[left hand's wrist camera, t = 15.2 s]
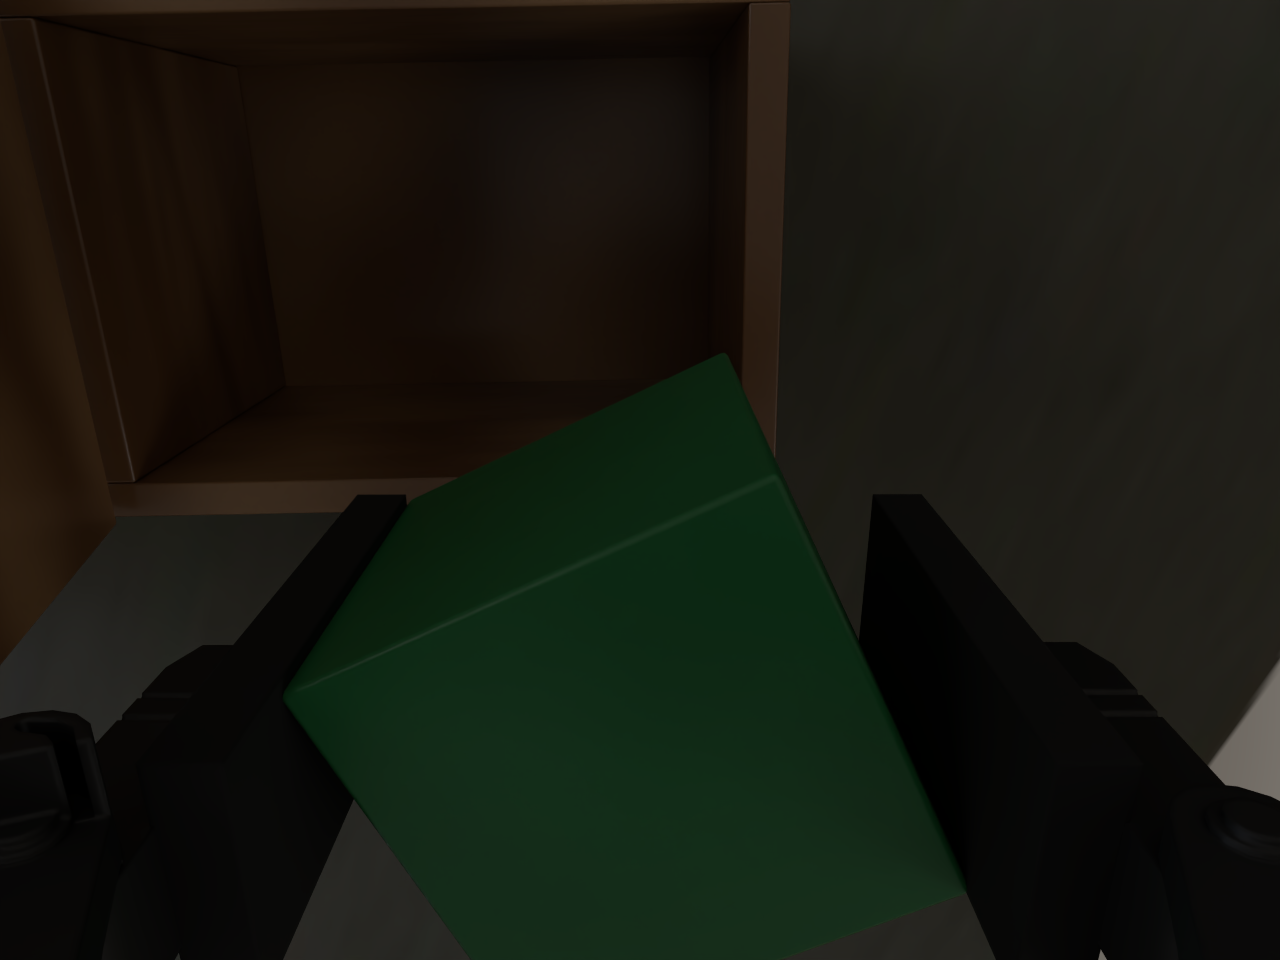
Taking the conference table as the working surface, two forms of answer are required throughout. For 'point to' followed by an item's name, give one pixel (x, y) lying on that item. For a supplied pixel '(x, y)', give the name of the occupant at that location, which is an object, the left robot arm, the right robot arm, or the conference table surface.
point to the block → (624, 702)
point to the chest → (396, 227)
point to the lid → (38, 402)
